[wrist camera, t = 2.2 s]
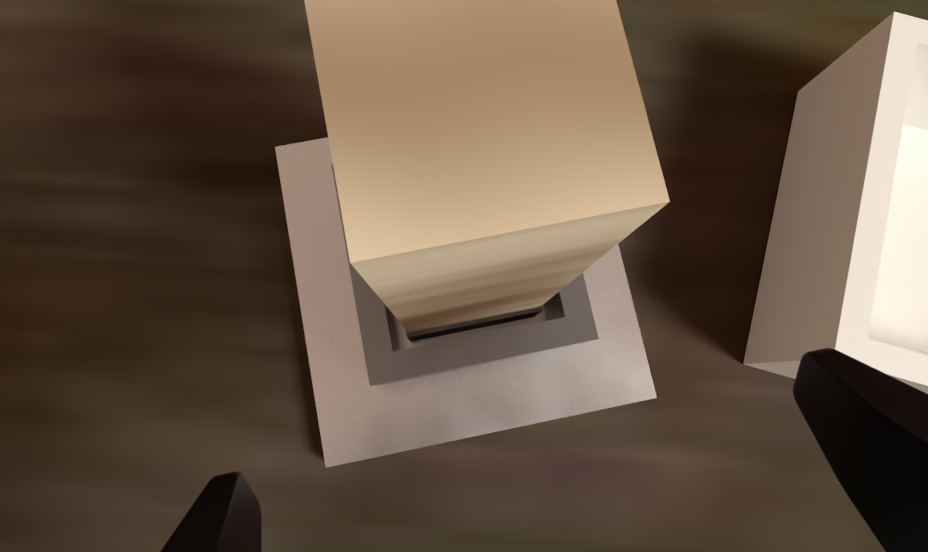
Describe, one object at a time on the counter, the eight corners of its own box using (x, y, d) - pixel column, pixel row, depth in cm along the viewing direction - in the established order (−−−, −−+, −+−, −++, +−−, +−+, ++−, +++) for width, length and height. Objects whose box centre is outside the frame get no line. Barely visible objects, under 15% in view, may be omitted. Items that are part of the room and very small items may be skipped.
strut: (534, 317, 20) (679, 207, 7) (410, 341, 20) (342, 271, 7) (507, 198, 21) (599, -87, 8) (388, 221, 21) (290, -37, 8)
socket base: (648, 397, 21) (693, 400, 17) (330, 464, 20) (303, 483, 16) (575, 102, 22) (600, 46, 19) (281, 155, 22) (246, 108, 18)
